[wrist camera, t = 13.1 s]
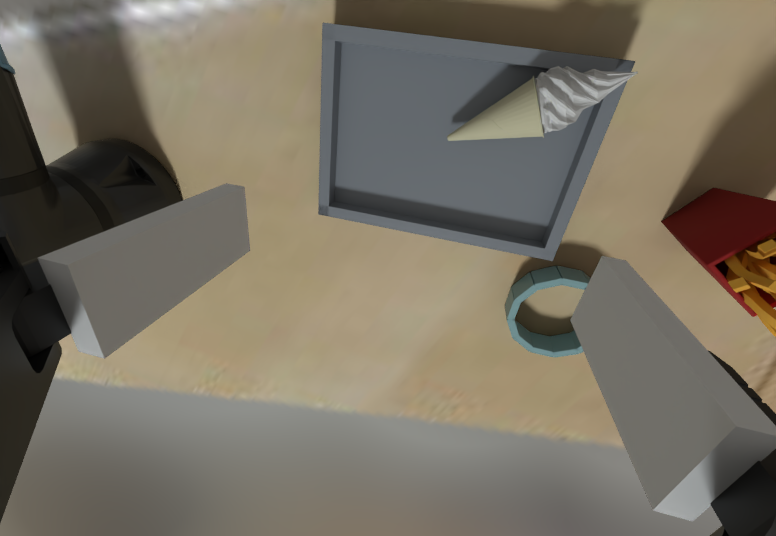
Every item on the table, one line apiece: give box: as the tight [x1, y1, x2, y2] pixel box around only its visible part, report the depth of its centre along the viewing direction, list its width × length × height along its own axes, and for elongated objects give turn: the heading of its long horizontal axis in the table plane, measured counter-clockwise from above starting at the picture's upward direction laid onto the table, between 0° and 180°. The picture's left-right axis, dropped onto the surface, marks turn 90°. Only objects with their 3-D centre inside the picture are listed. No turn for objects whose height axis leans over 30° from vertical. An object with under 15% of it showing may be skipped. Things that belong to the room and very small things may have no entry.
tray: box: [318, 23, 635, 261], centre depth 34 cm, size 26×18×3 cm
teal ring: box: [505, 266, 591, 357], centre depth 40 cm, size 11×11×3 cm
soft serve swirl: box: [447, 66, 638, 141], centre depth 29 cm, size 5×5×15 cm
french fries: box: [661, 188, 776, 336], centre depth 27 cm, size 9×8×15 cm
